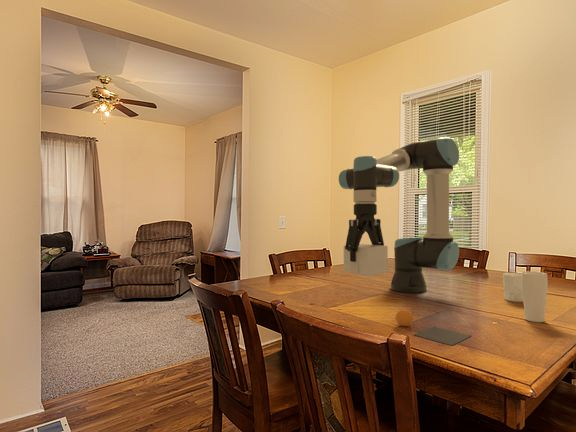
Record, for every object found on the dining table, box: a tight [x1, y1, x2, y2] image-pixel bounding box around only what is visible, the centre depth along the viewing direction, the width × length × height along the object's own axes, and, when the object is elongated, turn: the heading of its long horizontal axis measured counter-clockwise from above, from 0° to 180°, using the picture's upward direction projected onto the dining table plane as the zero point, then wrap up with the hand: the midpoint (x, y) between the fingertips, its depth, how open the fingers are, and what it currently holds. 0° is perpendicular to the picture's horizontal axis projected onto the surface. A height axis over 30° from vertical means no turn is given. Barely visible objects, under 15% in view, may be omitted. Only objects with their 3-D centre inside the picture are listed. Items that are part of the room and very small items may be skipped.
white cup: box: [502, 272, 523, 303], centre depth 143 cm, size 8×8×10 cm
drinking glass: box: [521, 270, 548, 323], centre depth 116 cm, size 7×7×15 cm
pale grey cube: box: [343, 243, 389, 277], centre depth 123 cm, size 10×10×9 cm
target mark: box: [413, 326, 472, 346], centre depth 103 cm, size 11×11×1 cm
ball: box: [395, 308, 414, 327], centre depth 112 cm, size 5×5×5 cm
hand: (365, 269), depth 123 cm, fingers closed on pale grey cube, 10 cm apart
